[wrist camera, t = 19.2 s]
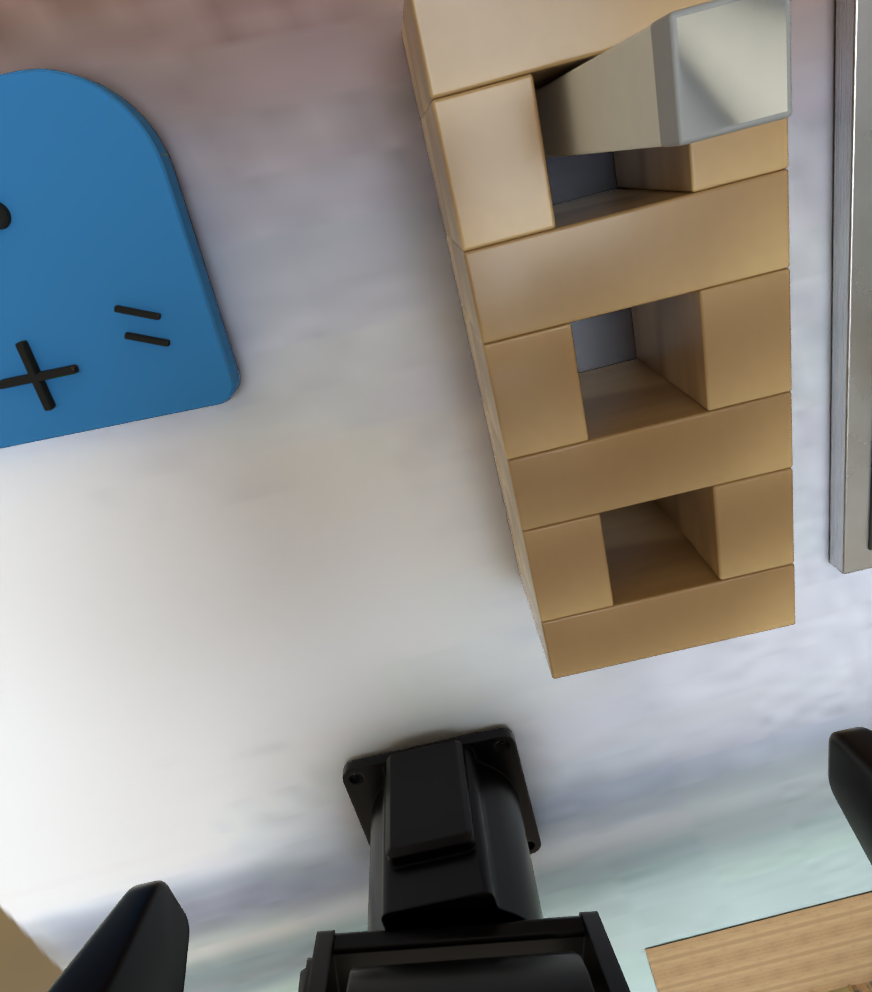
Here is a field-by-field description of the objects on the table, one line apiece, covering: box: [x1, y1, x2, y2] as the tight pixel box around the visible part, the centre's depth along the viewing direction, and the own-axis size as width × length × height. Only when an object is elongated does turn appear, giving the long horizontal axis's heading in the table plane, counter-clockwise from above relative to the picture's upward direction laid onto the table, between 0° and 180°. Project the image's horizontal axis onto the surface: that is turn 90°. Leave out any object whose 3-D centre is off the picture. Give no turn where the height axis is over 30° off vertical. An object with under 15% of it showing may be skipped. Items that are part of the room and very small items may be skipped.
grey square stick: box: [535, 0, 792, 158], centre depth 13 cm, size 1×1×10 cm
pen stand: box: [402, 0, 795, 679], centre depth 17 cm, size 16×6×5 cm, turn 13°
